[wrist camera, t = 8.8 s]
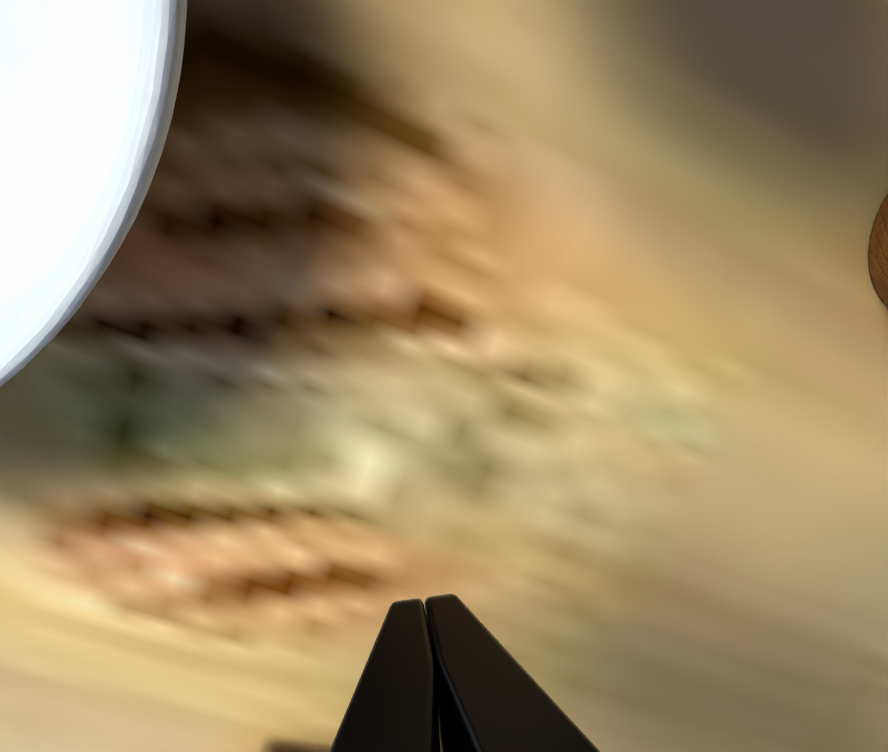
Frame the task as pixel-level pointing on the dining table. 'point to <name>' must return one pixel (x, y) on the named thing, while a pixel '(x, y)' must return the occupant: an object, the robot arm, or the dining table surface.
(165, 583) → the dining table surface
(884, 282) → the disposable coffee cup
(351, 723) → the robot arm
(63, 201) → the serving bowl
